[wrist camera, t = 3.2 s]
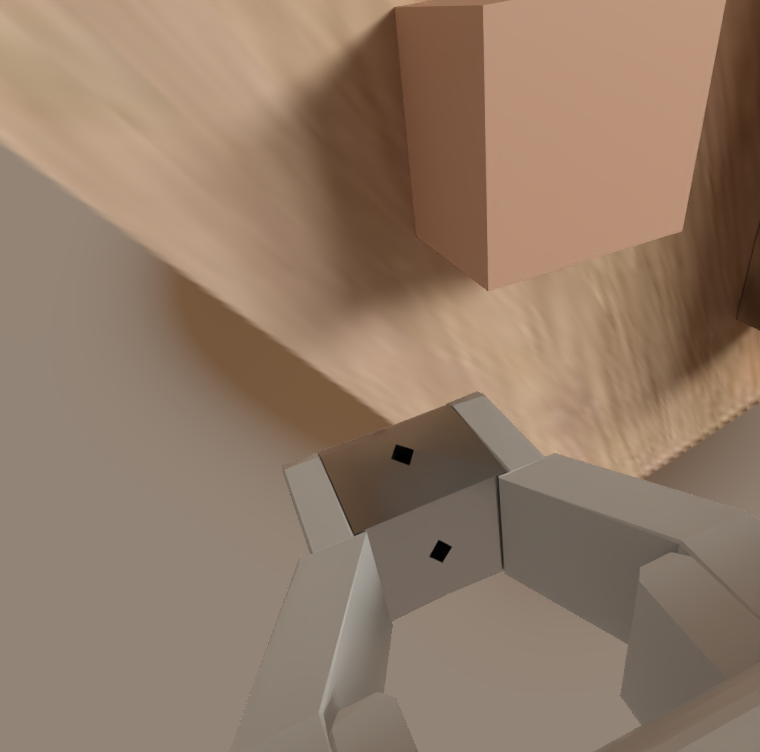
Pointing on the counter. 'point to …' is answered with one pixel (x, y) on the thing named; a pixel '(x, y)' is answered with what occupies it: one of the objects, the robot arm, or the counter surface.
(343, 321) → the counter surface
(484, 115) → the terracotta block
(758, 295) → the walnut board
